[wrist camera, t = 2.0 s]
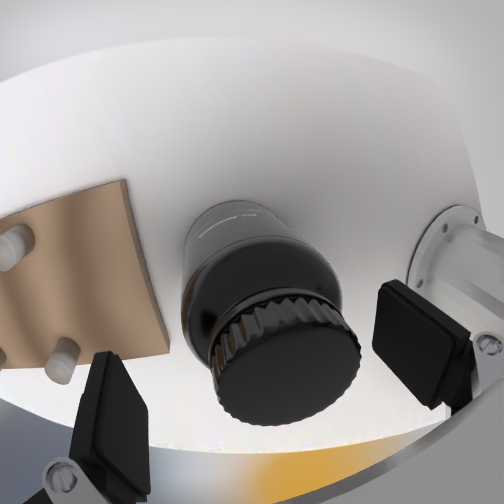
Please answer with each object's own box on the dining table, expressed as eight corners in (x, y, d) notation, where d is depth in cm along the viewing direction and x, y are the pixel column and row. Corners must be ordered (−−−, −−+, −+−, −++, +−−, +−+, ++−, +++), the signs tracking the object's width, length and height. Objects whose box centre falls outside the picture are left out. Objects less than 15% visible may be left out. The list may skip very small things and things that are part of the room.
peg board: (125, 178, 16) (104, 188, 12) (169, 340, 20) (168, 382, 16) (-59, 246, 13) (-88, 265, 9) (-9, 359, 17) (-26, 388, 13)
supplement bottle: (221, 177, 17) (281, 229, 6) (303, 234, 20) (421, 331, 9) (163, 267, 18) (145, 415, 7) (247, 311, 21) (303, 451, 10)
